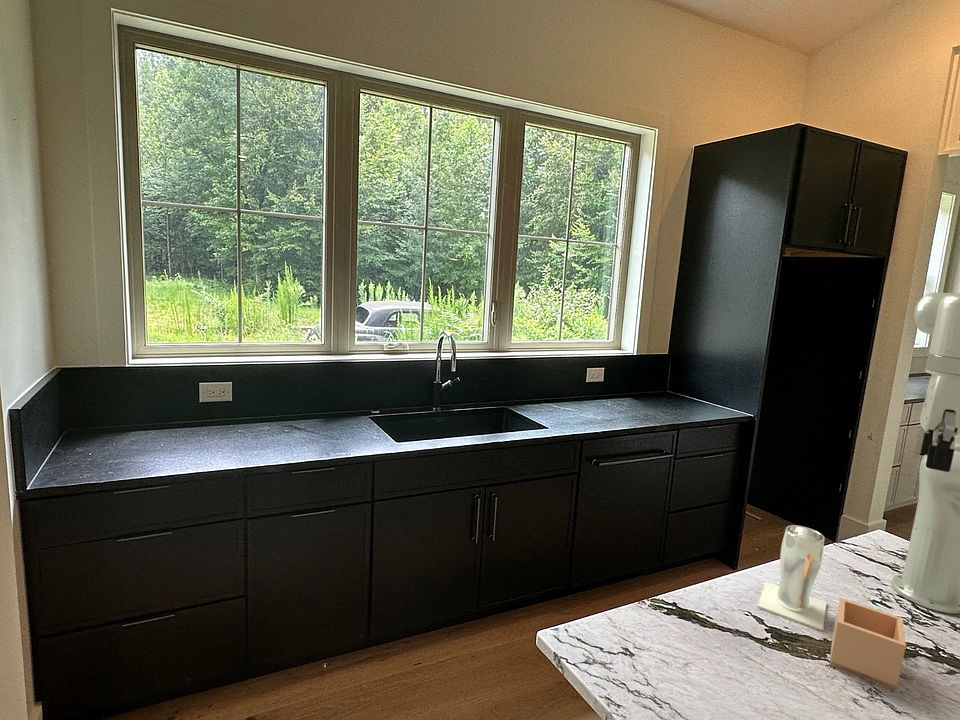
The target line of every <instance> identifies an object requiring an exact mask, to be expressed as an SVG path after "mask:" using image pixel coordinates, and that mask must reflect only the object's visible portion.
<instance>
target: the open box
mask: <svg viewBox="0 0 960 720" xmlns="http://www.w3.org/2000/svg"><path fill="white" fill-rule="evenodd" d="M838 600H839V601H838V605H837V612H836V616H835V621H834V624H833V625H834V626H833V630H832V631H833V632H832V636H831V645H830V657H829V658H830V659H829V666H831V667H834V668H836V669H839V670H841V671H844V672H846V673H849V674H851V675H854V676H856V677H859V678H862V679H864V680H867V681H870V683H871V682H872V683H875V684H877V685H879V686H882V687H885V688H887V689H890V690H893V691H895V692H897V690H898V684H899V679H900V675H901V670H902V666H903V661H904V657H905V651H906V649H907V644H906V635H905V628H904V619H903V617H900V616H896V615H894V614H892V613H888V612H885V611H882V610H880V609H876V608H873V607H869V606H866V605H864V604H860V603H858V602H855V601H853V600H849V599H845V598H842V597H839V599H838Z"/></svg>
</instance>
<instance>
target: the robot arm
mask: <svg viewBox="0 0 960 720" xmlns="http://www.w3.org/2000/svg"><path fill="white" fill-rule="evenodd" d="M913 317H914V323H915V325H916V327H917V329H918V330H919V331H920V332H921V333H924V334H928V335H932V336H931V337H932V338H931V341H930V342H931V343H930V345H929V346H930V347H929V352H928V356H927V361H926V365H925V373H927V374H930V378H929V382H928V385H927V389H926V393H925V398H924V401H923V406H922V409H921V410H922V411H921V413H920V418H919V423H920V426H921V427H922V429H923V430H924V431H925V432H924V433H923V439H922V443H921V449H920V454H922V455H923V456H922V458H921V461H920V463H919V474H918V475H919V477H918V478H919V481H918V482H919V491H918V499H917V504H916V505H917V506H916V510H915V516H914V520H913V525H912V530H911V534H910V540H909V544H908V549H907V554H906V557H905V563H904V568H903V573H902V574H898V575H895V576H893V577H892V580H891V586H892V588H893V589H894V591H896V593H898V594H899V595H901V596H902V597H903V598H905V599H907V600H909V601H911V602H913V603H915V604H917V605H919V606H921V607H924V608H925V609H929V610H933V611H936V612H941V613H945V614H951V615H952V614H955V615H958V614H960V293H956V292H929V293H927V294H925V295H923V296H922V297H921V298H920V299H919V301H918V302H917V304H916V306H915V309H914V316H913Z"/></svg>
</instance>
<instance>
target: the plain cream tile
mask: <svg viewBox="0 0 960 720" xmlns="http://www.w3.org/2000/svg"><path fill="white" fill-rule="evenodd" d="M779 586H780V585H778V584H777V585H776V584H775V583H772V582H769V581H765V583H764V586H763V588H762V591H761V594H760V598H759V601H758V603H757V607H758V609H760V608H761V610H763V611H766V612H769V613H771V614H774V615H777V616H779V615H780V617H782V618H785V619H788V620H790V621H793V622H796V623H798V624H802V625H804V626H806V627H810V628H811V629H812V628H813V629H816V630H818V631H821V632H824V626H825V625H824V624H825V618H826V617H825V616H826V608H827V601H824V600H821V599H818V598H815V597H812V596H810V610H809V611H808V612H804V613H800V612H795V611H791V610H789V609H786V608H784V607H783V606H781V605H780V604H779V603H778V602H777V601H776V599H775V596H776V593H777V591H778V588H779ZM757 607H756V608H757Z"/></svg>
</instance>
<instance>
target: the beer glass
mask: <svg viewBox="0 0 960 720" xmlns="http://www.w3.org/2000/svg"><path fill="white" fill-rule="evenodd" d="M825 540H826V538H825V536H824V535H823V534H822V533H821V532H819V531H817V530H815V529H813V528H809V527H806V526H802V525H795V524H793V525H792V524H791V525H788V526H786V527H785V531H784V535H783V539H782V542H781V547H780V555H779V556H780V557H779V561H780V562H779V563H780V564H779V565H780V566H779V567H780V581H779V582H780V583H779V585H778V586H779V588H778V591H777V593H776V596H775V599H776V601H777V602H778V603H779V604H780V605H781V606H783V607H784V608H786V609H789V610H791V611H795V612H800V613H804V612H808V611H809V610H810V597H811V592H812V588H813V586H814V583H815V581H816V580H817V576H818V573H819V572H820V569H821V566H822V561H823V558H824V557H823V556H824V548H825V545H824V544H825Z"/></svg>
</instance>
